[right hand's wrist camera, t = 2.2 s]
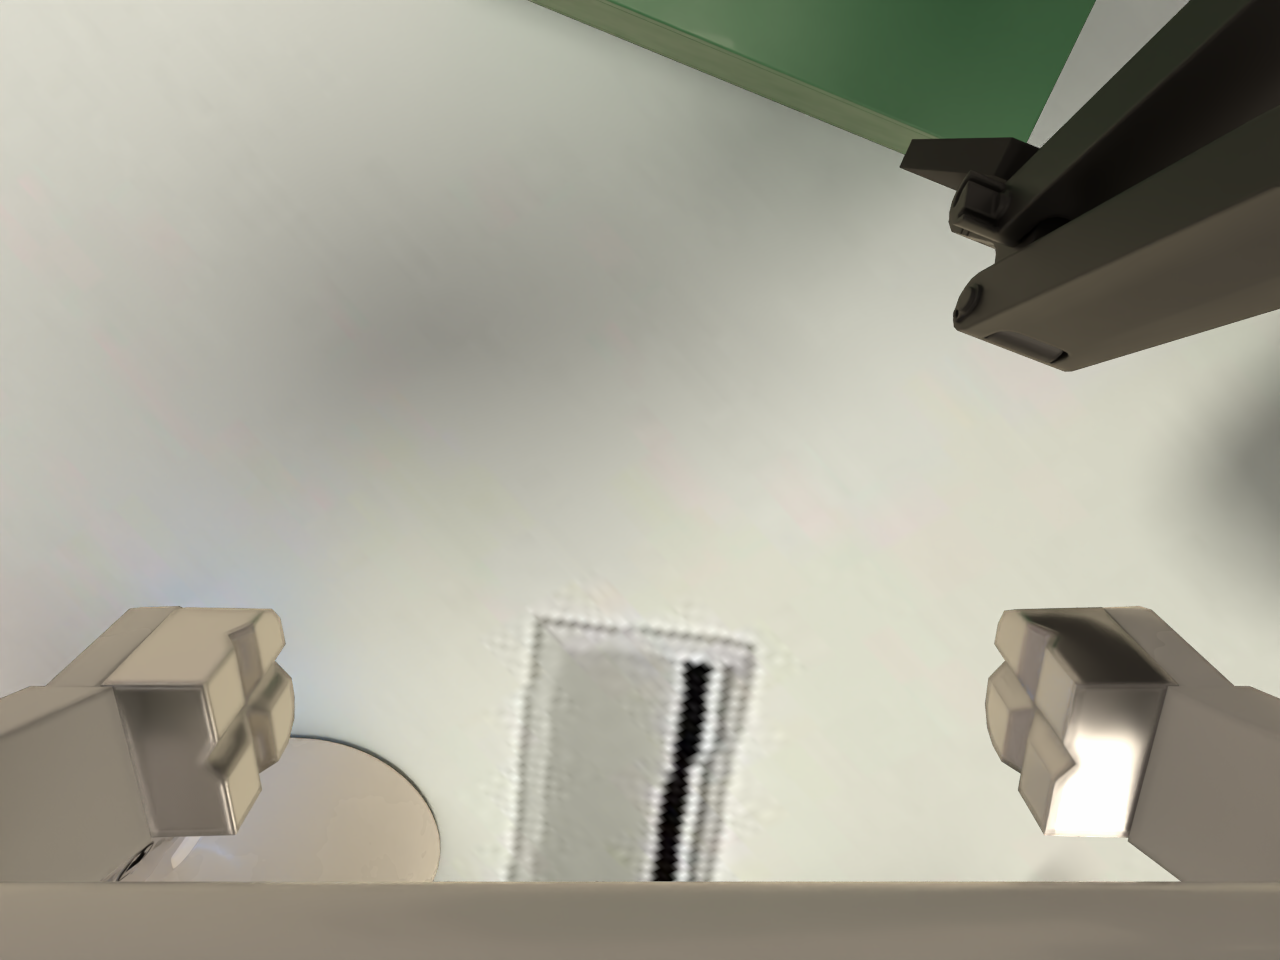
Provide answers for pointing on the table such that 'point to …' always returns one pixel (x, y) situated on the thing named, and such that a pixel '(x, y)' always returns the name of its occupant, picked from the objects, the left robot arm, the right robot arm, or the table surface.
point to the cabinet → (867, 57)
